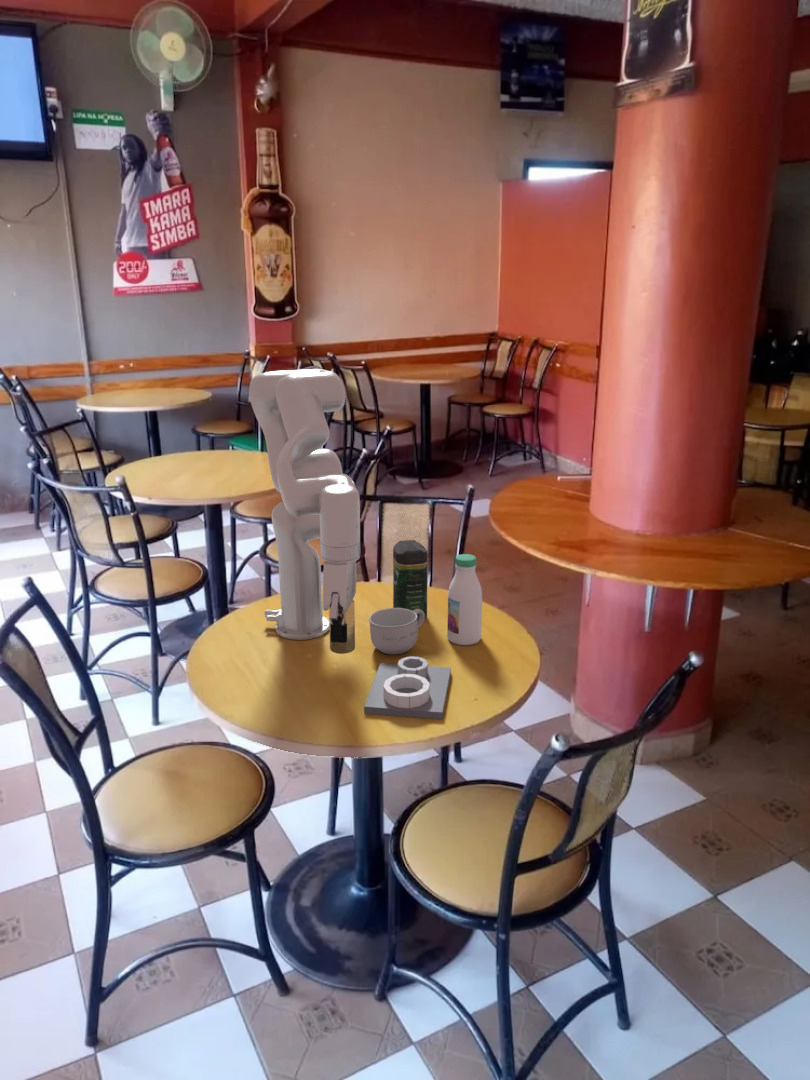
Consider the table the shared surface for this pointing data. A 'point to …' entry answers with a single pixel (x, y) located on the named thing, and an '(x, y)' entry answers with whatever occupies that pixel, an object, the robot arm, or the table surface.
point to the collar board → (409, 689)
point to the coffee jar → (410, 576)
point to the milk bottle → (465, 603)
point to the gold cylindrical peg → (350, 620)
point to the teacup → (395, 629)
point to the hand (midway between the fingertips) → (342, 634)
